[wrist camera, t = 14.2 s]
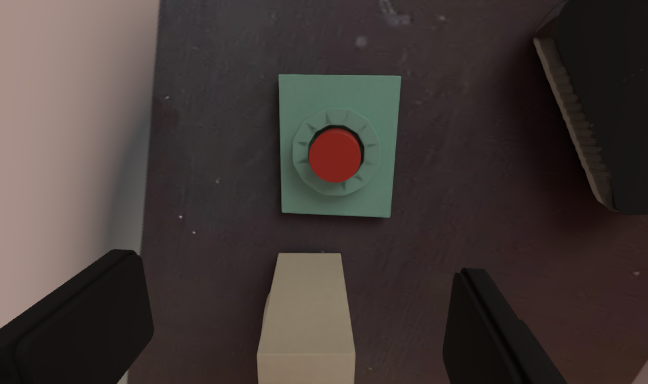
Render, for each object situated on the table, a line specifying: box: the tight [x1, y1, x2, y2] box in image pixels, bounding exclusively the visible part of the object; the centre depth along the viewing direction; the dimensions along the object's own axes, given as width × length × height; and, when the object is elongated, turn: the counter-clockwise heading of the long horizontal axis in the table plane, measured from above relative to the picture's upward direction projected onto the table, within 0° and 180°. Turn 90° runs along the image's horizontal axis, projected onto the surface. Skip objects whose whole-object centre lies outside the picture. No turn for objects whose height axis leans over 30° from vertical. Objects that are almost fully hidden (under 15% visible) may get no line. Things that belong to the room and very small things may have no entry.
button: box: [309, 128, 361, 183], centre depth 25 cm, size 4×4×2 cm
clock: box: [257, 253, 355, 384], centre depth 24 cm, size 10×16×6 cm
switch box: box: [279, 74, 401, 218], centre depth 27 cm, size 11×9×3 cm
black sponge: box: [533, 0, 648, 215], centre depth 23 cm, size 16×8×4 cm, turn 30°
